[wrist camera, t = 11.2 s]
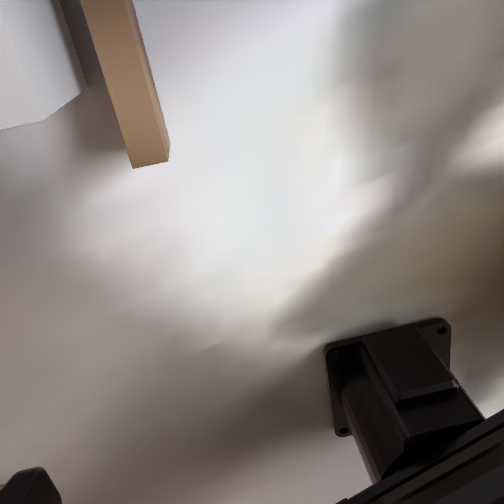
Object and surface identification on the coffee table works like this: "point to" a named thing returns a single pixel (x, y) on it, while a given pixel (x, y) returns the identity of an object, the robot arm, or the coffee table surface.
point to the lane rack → (128, 79)
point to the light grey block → (36, 62)
